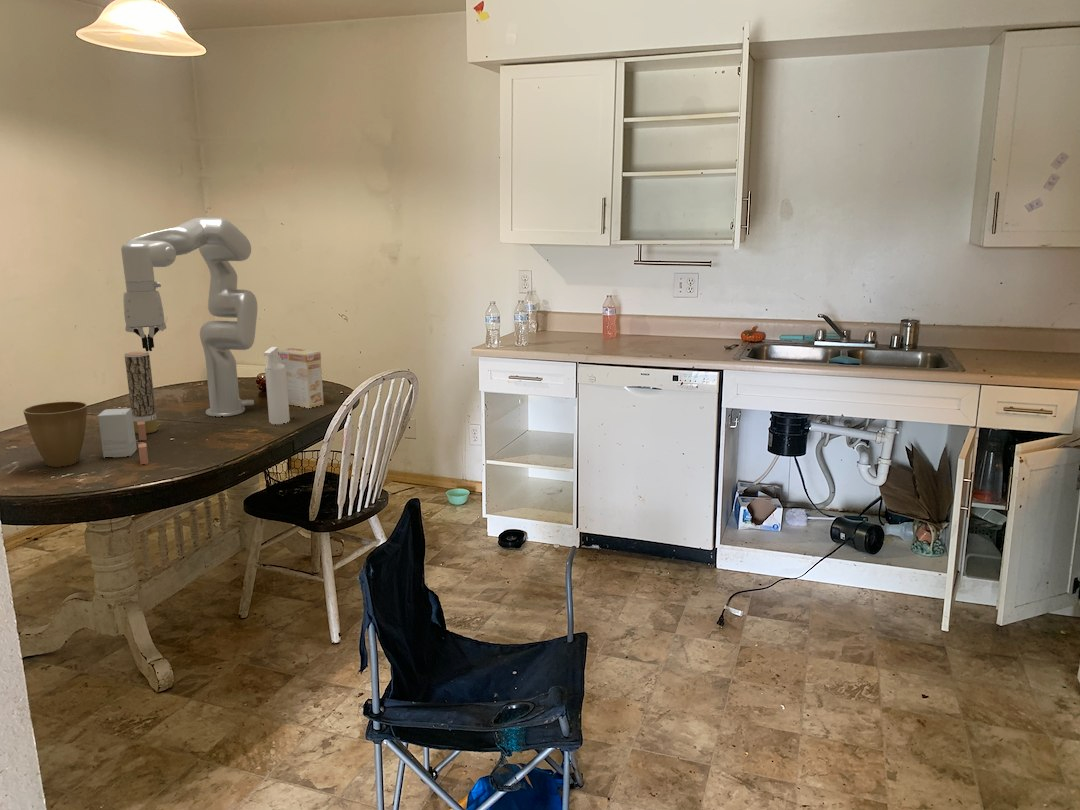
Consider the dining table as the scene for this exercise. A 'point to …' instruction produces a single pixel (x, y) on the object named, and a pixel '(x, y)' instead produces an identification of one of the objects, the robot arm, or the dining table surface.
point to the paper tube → (141, 390)
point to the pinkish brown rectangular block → (142, 446)
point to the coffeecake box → (303, 377)
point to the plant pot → (58, 430)
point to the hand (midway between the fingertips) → (148, 350)
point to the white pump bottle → (276, 388)
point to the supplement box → (117, 432)
